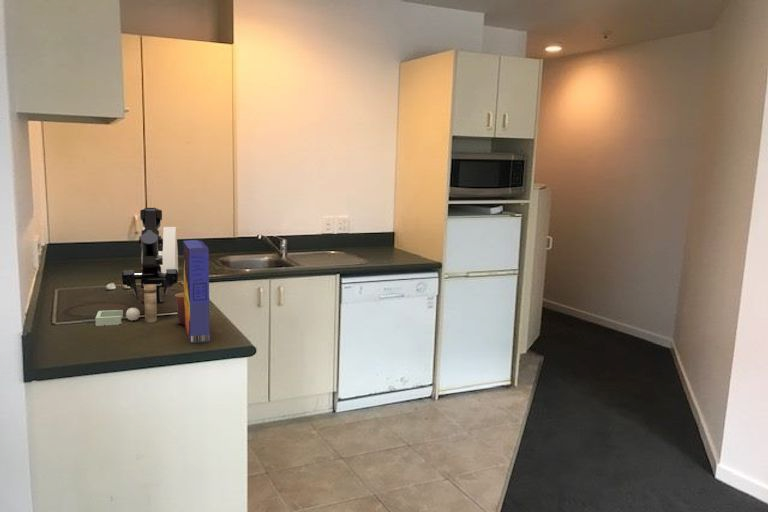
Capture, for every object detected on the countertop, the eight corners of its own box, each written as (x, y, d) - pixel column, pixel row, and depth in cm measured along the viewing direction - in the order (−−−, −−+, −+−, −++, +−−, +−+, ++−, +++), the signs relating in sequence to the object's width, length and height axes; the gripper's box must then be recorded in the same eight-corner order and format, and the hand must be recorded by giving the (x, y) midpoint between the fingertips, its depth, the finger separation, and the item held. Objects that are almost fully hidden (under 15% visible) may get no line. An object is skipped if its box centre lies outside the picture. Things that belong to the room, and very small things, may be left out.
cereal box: (184, 326, 210) (183, 240, 206) (202, 325, 212) (201, 239, 208) (189, 343, 190) (188, 247, 186) (209, 341, 192) (208, 247, 188)
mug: (184, 327, 209) (183, 298, 207) (170, 323, 214) (169, 294, 213) (214, 321, 218) (213, 293, 216) (200, 317, 223) (199, 290, 222)
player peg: (143, 320, 216) (142, 284, 215) (154, 319, 219) (153, 283, 217) (147, 323, 213) (146, 286, 212) (158, 321, 216) (158, 285, 214)
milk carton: (146, 273, 316) (145, 225, 313) (178, 272, 320) (177, 225, 317) (142, 279, 298) (140, 228, 295) (175, 279, 302) (174, 228, 299)
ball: (124, 320, 217) (123, 307, 216) (137, 318, 220) (137, 305, 219) (128, 322, 213) (128, 309, 213) (141, 320, 216) (141, 308, 216)
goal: (98, 318, 218) (98, 310, 217) (123, 317, 220) (122, 309, 220) (95, 326, 208) (95, 317, 207) (121, 324, 210) (120, 316, 210)
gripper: (121, 247, 216) (120, 283, 207) (177, 247, 222) (178, 281, 213) (123, 266, 224) (122, 302, 215) (177, 265, 230) (178, 299, 221)
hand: (150, 296), depth 216 cm, fingers open, 9 cm apart
